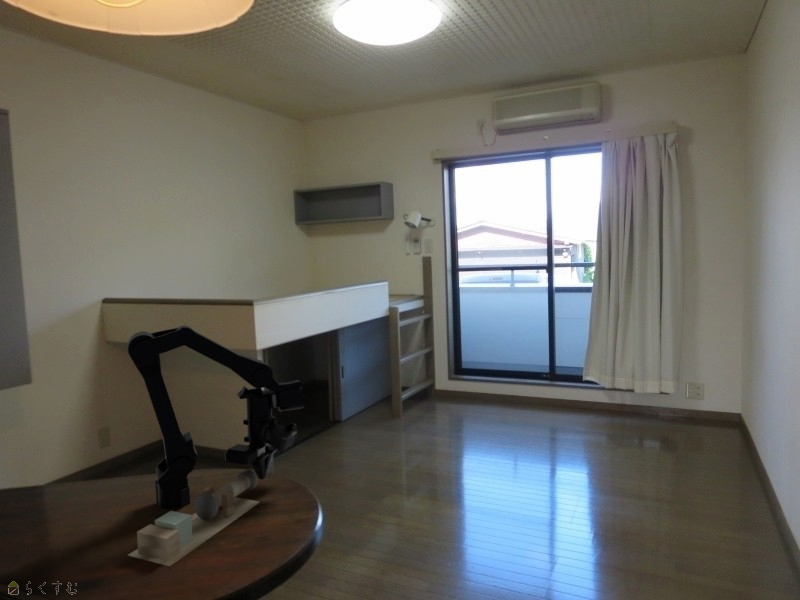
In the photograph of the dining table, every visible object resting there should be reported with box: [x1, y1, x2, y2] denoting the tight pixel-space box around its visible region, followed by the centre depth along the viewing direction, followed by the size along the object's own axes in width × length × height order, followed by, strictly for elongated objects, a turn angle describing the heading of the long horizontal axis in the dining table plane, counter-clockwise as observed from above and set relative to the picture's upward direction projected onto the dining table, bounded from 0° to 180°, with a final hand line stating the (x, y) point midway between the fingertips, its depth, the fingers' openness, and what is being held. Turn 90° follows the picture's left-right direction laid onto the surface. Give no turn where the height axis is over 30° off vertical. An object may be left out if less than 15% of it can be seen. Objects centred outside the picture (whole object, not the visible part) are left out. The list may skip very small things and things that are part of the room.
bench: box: [127, 486, 261, 567], centre depth 108 cm, size 10×26×6 cm, turn 158°
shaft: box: [193, 469, 258, 520], centre depth 116 cm, size 5×15×5 cm, turn 158°
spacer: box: [154, 510, 193, 548], centre depth 102 cm, size 5×4×5 cm
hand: (262, 478), depth 127 cm, fingers closed
